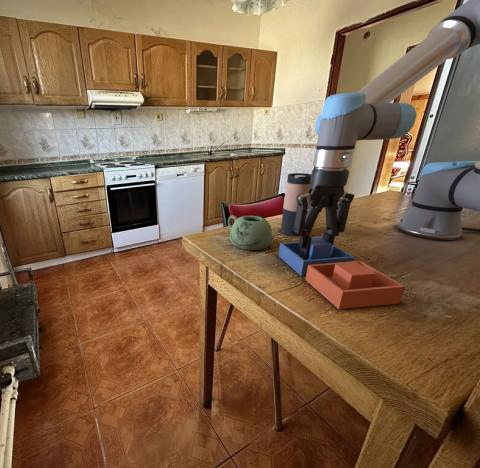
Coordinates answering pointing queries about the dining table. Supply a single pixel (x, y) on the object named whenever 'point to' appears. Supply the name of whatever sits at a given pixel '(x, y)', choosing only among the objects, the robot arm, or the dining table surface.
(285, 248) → the blue bin
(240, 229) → the mug
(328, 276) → the terracotta bin
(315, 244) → the blue block
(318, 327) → the dining table surface
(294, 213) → the travel mug
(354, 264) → the terracotta block
